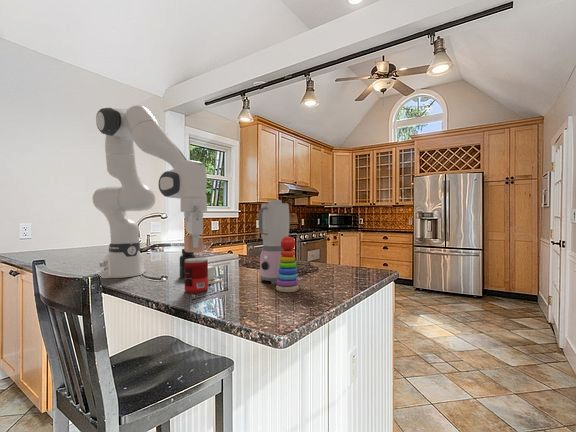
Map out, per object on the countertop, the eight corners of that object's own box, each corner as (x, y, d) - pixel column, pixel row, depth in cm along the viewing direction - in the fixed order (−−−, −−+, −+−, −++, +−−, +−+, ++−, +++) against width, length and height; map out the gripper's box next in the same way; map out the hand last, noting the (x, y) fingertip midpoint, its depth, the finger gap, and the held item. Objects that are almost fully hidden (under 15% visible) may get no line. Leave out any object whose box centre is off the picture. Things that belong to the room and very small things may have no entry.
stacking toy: (296, 293, 105) (296, 237, 105) (273, 292, 106) (273, 237, 106) (300, 288, 112) (300, 235, 112) (278, 287, 114) (278, 235, 114)
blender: (273, 276, 133) (273, 201, 133) (297, 279, 126) (296, 200, 126) (247, 283, 121) (247, 199, 121) (271, 287, 114) (271, 198, 113)
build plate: (189, 282, 123) (189, 280, 123) (206, 279, 129) (206, 276, 129) (204, 285, 117) (204, 283, 117) (221, 281, 124) (221, 279, 124)
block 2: (196, 280, 122) (196, 267, 122) (204, 278, 126) (204, 265, 126) (206, 281, 120) (206, 268, 120) (214, 279, 125) (214, 266, 125)
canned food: (211, 288, 113) (211, 257, 113) (202, 294, 105) (201, 261, 105) (191, 287, 114) (191, 257, 114) (180, 293, 106) (180, 260, 106)
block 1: (184, 251, 110) (184, 236, 110) (198, 250, 112) (198, 236, 112) (188, 252, 106) (188, 237, 106) (202, 251, 108) (202, 237, 108)
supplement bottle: (176, 278, 131) (175, 249, 131) (185, 275, 137) (185, 247, 137) (190, 279, 129) (190, 250, 129) (199, 276, 135) (199, 248, 135)
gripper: (207, 206, 101) (208, 249, 101) (199, 207, 120) (199, 243, 120) (187, 205, 98) (187, 250, 98) (182, 207, 117) (182, 244, 117)
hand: (194, 246), depth 109 cm, fingers closed on block 1, 5 cm apart
